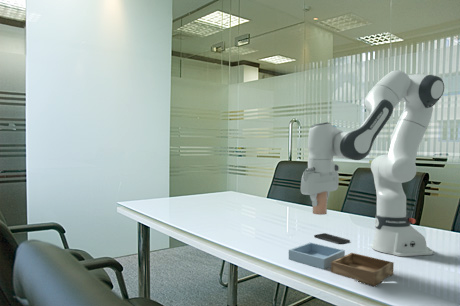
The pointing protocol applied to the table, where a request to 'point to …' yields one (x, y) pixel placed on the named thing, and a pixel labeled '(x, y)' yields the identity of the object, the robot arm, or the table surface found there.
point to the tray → (362, 268)
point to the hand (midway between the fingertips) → (319, 204)
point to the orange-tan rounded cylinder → (321, 204)
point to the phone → (332, 238)
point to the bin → (315, 255)
